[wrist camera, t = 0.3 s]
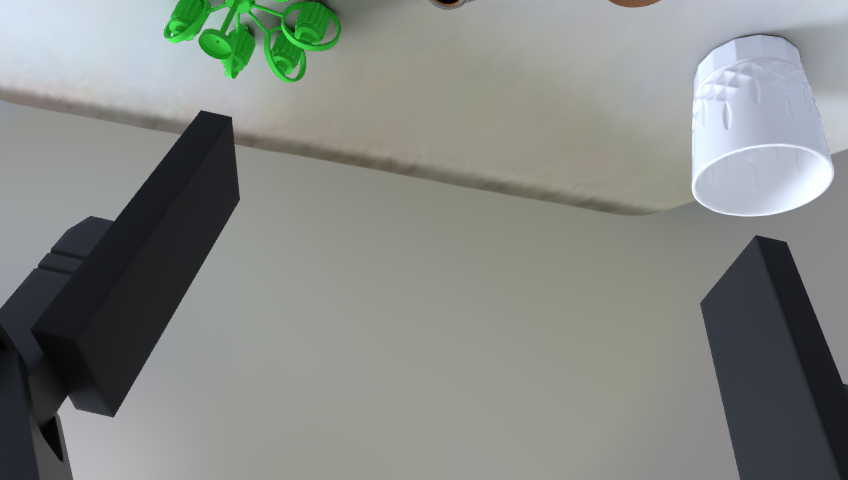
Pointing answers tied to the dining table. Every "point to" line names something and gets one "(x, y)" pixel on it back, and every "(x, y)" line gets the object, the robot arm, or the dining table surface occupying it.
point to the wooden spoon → (633, 2)
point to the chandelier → (242, 44)
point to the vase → (449, 3)
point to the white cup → (756, 130)
